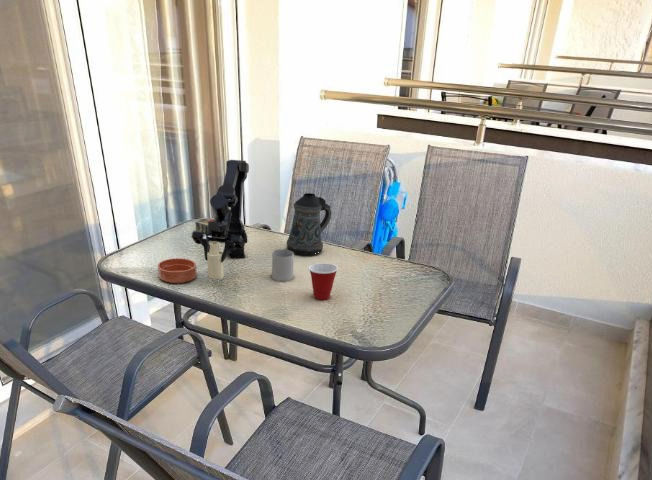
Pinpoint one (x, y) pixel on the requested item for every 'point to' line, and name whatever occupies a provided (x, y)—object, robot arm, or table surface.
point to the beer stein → (308, 225)
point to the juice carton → (203, 226)
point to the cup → (282, 265)
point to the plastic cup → (322, 279)
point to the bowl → (177, 270)
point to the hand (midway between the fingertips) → (213, 260)
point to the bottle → (215, 261)
